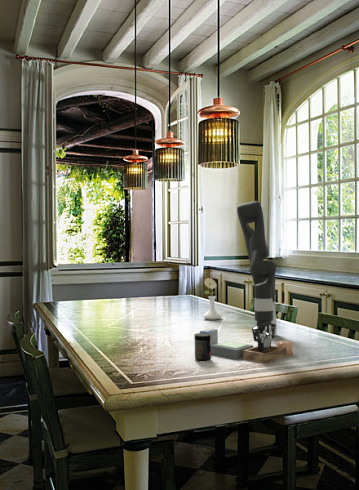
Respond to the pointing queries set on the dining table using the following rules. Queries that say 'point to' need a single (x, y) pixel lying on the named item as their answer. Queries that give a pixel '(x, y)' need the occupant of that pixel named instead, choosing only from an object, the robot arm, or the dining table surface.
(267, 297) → the robot arm
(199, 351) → the supplement container
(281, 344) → the peach dome knob
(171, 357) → the dining table surface
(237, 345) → the pale green panel
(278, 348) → the brown wooden tray
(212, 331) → the medicine box
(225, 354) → the checker base
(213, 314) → the flower in vase
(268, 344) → the cell
